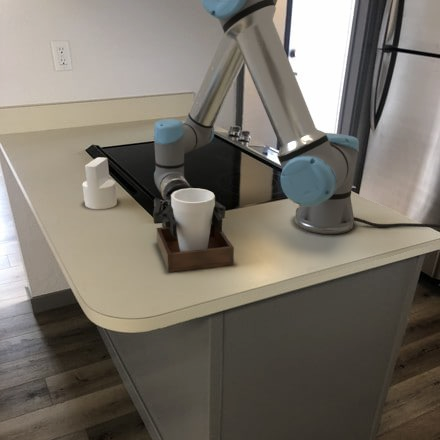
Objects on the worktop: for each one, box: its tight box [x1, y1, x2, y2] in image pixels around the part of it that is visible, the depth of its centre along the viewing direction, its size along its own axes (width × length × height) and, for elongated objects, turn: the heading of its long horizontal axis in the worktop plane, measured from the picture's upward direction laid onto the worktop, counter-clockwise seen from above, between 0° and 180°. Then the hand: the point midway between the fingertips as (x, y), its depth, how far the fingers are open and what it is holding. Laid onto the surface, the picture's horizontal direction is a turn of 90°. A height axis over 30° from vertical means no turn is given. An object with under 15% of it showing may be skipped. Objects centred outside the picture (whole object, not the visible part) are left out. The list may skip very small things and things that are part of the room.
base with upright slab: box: [82, 156, 118, 210], centre depth 137 cm, size 9×9×12 cm
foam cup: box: [171, 187, 216, 252], centre depth 108 cm, size 10×9×13 cm
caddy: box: [156, 222, 235, 273], centre depth 111 cm, size 15×15×4 cm
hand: (197, 228), depth 104 cm, fingers closed on foam cup, 9 cm apart
